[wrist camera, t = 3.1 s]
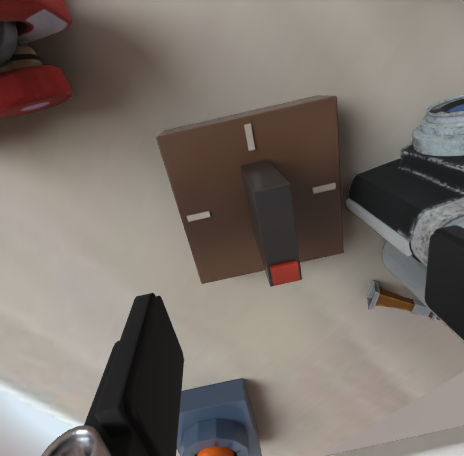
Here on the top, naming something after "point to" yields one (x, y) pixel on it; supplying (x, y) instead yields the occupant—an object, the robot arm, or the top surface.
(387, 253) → the grey hollow tube
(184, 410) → the button box
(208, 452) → the button
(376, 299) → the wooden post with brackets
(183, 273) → the top surface
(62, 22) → the toy fire truck
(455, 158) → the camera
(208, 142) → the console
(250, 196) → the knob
